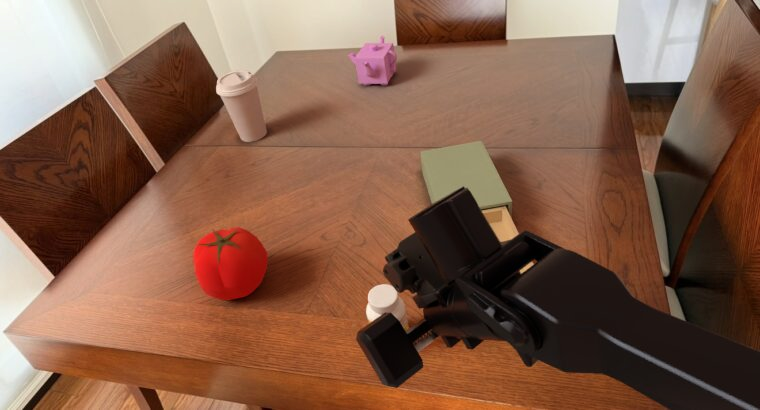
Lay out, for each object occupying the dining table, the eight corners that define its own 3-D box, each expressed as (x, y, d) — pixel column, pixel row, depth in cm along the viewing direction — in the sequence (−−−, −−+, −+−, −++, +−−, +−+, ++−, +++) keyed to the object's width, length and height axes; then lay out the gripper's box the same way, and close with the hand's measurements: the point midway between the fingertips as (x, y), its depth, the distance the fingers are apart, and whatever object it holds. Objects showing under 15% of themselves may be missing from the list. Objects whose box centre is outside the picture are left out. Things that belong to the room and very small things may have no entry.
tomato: (192, 295, 84) (164, 248, 77) (242, 251, 90) (221, 204, 83) (240, 324, 78) (215, 275, 70) (289, 274, 84) (272, 226, 77)
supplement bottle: (416, 345, 70) (410, 301, 64) (381, 361, 69) (371, 318, 63) (400, 318, 74) (393, 274, 68) (367, 332, 73) (356, 289, 67)
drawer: (557, 326, 69) (560, 309, 66) (478, 340, 69) (478, 324, 66) (507, 221, 86) (508, 205, 84) (444, 232, 86) (443, 216, 84)
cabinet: (511, 224, 86) (512, 201, 83) (441, 236, 86) (440, 213, 83) (481, 162, 101) (481, 140, 98) (422, 172, 101) (420, 151, 98)
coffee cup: (271, 141, 119) (253, 83, 109) (232, 148, 119) (209, 91, 109) (274, 121, 126) (257, 65, 117) (236, 127, 126) (216, 72, 117)
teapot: (363, 65, 145) (357, 31, 139) (407, 65, 141) (403, 30, 135) (342, 95, 132) (335, 60, 126) (390, 96, 128) (385, 60, 122)
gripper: (506, 183, 49) (437, 215, 63) (350, 284, 41) (311, 294, 56) (566, 281, 49) (482, 291, 63) (419, 401, 41) (363, 381, 56)
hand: (413, 311), depth 59 cm, fingers open, 9 cm apart
